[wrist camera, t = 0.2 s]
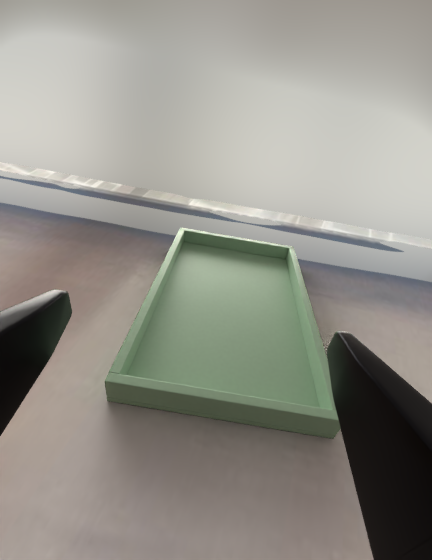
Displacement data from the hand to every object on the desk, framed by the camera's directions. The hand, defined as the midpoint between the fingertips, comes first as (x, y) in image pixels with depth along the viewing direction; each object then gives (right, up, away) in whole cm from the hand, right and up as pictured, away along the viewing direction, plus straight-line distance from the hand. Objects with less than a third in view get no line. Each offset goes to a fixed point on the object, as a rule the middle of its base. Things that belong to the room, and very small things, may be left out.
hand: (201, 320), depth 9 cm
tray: (+2, -2, +24) cm, 24 cm away
